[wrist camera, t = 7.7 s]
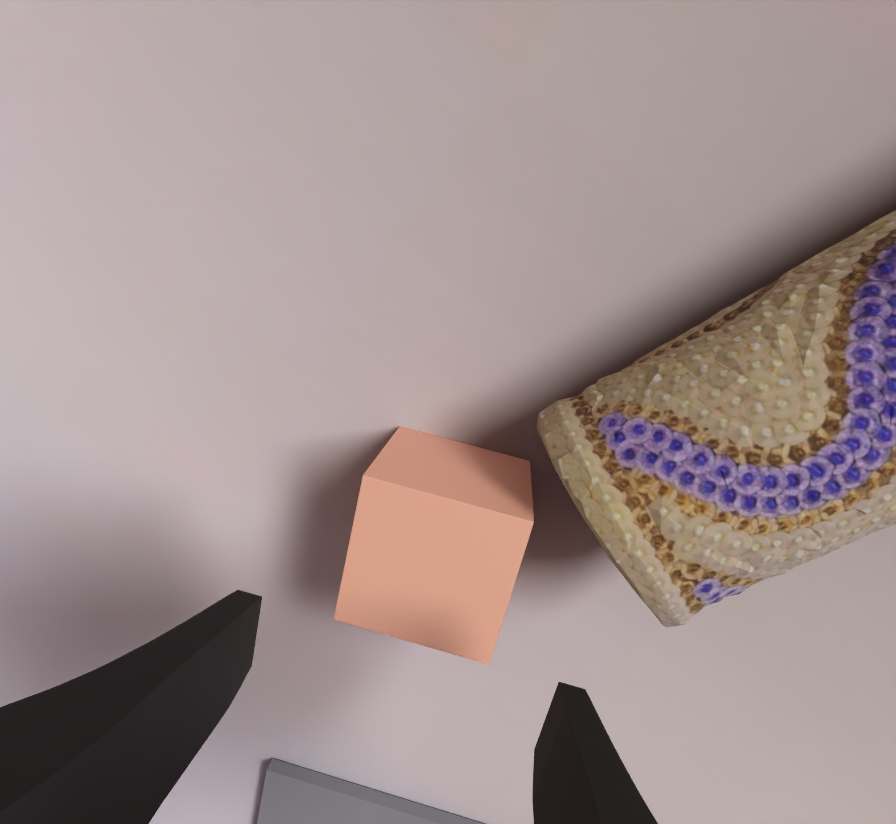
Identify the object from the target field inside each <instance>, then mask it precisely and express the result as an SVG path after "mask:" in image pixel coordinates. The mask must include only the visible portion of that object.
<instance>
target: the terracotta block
mask: <svg viewBox="0 0 896 824" xmlns="http://www.w3.org/2000/svg"><path fill="white" fill-rule="evenodd" d="M533 524H534V513H533V498H532V482H531V467H530V461H529V460H525V459H521V458H518V457H514V456H510V455H506V454H503V453H499V452H495V451H491V450H488V449H484V448H480V447H476V446H472V445H469V444H465V443H461V442H457V441H454V440H450V439H446V438H442V437H439V436H435V435H431V434H427V433H424V432H420V431H416V430H412V429H409V428H405V427H401V426H400V427H399V428H398V429H397V431H396V432H395V433H394V434H393V436H392V437H391V438H390V440H389V441H388V442H387V444H386V445H385V446H384V448H383V449H382V450H381V452H380V453H379V454H378V456H377V457H376V458H375V460H374V461H373V462H372V464H371V465H370V466H369V468H368V469H367V470H366V472H365V473H364V474H363V477H362V482H361V487H360V492H359V497H358V502H357V507H356V512H355V517H354V522H353V526H352V531H351V536H350V541H349V546H348V551H347V556H346V561H345V566H344V571H343V576H342V581H341V585H340V590H339V595H338V600H337V605H336V610H335V615H334V620H337V621H341V622H344V623H348V624H351V625H354V626H358V627H361V628H365V629H368V630H372V631H375V632H379V633H382V634H385V635H389V636H392V637H396V638H399V639H403V640H406V641H410V642H413V643H416V644H420V645H423V646H427V647H430V648H434V649H437V650H441V651H444V652H447V653H451V654H454V655H458V656H461V657H465V658H468V659H472V660H475V661H478V662H482V663H485V664H490V661H491V658H492V655H493V651H494V648H495V645H496V642H497V639H498V635H499V632H500V629H501V626H502V623H503V619H504V616H505V613H506V610H507V607H508V603H509V600H510V597H511V594H512V591H513V587H514V584H515V581H516V578H517V575H518V571H519V568H520V565H521V562H522V559H523V556H524V552H525V549H526V546H527V543H528V540H529V536H530V533H531V530H532V527H533Z"/></svg>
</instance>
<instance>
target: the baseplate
mask: <svg viewBox="0 0 896 824" xmlns="http://www.w3.org/2000/svg"><path fill="white" fill-rule="evenodd" d="M257 824H483V823H480V822H477V821H474V820H470V819H467V818H464V817H461V816H457V815H454V814H451V813H448V812H444V811H441V810H438V809H435V808H432V807H428V806H425V805H422V804H419V803H415V802H412V801H409V800H406V799H402V798H399V797H396V796H393V795H389V794H386V793H383V792H380V791H377V790H373V789H370V788H367V787H364V786H360V785H357V784H354V783H351V782H347V781H344V780H341V779H338V778H334V777H331V776H328V775H325V774H322V773H318V772H315V771H312V770H309V769H305V768H302V767H299V766H296V765H292V764H289V763H286V762H283V761H279V760H276V759H273V758H272V760H271V762H270V764H269V766H268V768H267V770H266V775H265V781H264V787H263V792H262V798H261V803H260V809H259V815H258V820H257Z"/></svg>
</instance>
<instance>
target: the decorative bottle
mask: <svg viewBox="0 0 896 824" xmlns="http://www.w3.org/2000/svg"><path fill="white" fill-rule="evenodd" d="M537 430H538V432H539V434H540V437H541V439H542V441H543V444H544V446H545V449H546V451H547V453H548V455H549V457H550V459H551V461H552V464H553V466H554V468H555V470H556V472H557V474H558V476H559V477H560V479H561V481H562V483H563V485H564V486H565V488H566V490H567V492H568V493H569V495H570V497H571V499H572V500H573V502H574V504H575V506H576V507H577V509H578V511H579V512H580V514H581V516H582V517H583V519H584V520H585V522H586V523H587V525H588V526H589V528H590V529H591V531H592V532H593V534H594V535H595V537H596V538H597V540H598V541H599V543H600V544H601V546H602V547H603V549H604V550H605V552H606V553H607V555H608V556H609V558H610V559H611V561H612V562H613V563H614V564H615V566H616V567H617V568H618V570H619V571H620V572H621V574H622V575H623V576H624V577H625V579H626V580H627V581H628V583H629V584H630V585H631V587H632V588H633V589H634V590H635V592H636V593H637V594H638V596H639V597H640V598H641V599H642V600H643V602H644V603H645V604H646V605H647V606H648V607H649V609H650V610H651V611H652V612H653V613H654V615H655V616H656V617H657V618H658V619H659V621H660V622H661V624H662V625H663V626H665V627H672V626H678V625H684V624H685V623H686V622H687V621H689V620H690V619H691V618H692V617H693V616H694V615H695V614H696V613H697V612H699V611H700V610H701V609H702V608H703V607H704V606H707V605H710V604H712V603H715V602H718V601H721V600H722V599H723V597H727V596H731V595H736V594H740V593H741V592H743V591H744V590H745V589H747V588H748V587H750V586H751V585H753V584H755V583H757V582H760V581H762V580H764V579H766V578H769V577H773V576H776V575H780V574H784V573H786V572H788V571H790V570H791V569H793V568H795V567H797V566H799V565H801V564H803V563H805V562H808V561H811V560H814V559H816V558H819V557H821V556H823V555H825V554H827V553H829V552H832V551H834V550H836V549H838V548H840V547H842V546H844V545H847V544H849V543H851V542H853V541H855V540H858V539H860V538H862V537H864V536H866V535H868V534H870V533H872V532H875V531H878V530H881V529H883V528H886V527H889V526H891V525H893V524H895V523H896V210H895V211H893V212H891V213H889V214H887V215H886V216H884V217H882V218H880V219H878V220H876V221H875V222H873V223H872V224H870V225H868V226H867V227H865V228H863V229H862V230H860V231H858V232H857V233H855V234H853V235H851V236H850V237H848V238H846V239H844V240H843V241H841V242H839V243H837V244H835V245H833V246H831V247H829V248H827V249H825V250H824V251H822V252H820V253H818V254H817V255H815V256H813V257H812V258H810V259H808V260H807V261H805V262H803V263H802V264H800V265H798V266H797V267H795V268H793V269H791V270H789V271H788V272H786V273H785V274H783V275H782V276H781V277H779V278H778V279H777V280H776V281H774V282H773V283H770V284H768V285H766V286H765V287H763V288H761V289H759V290H757V291H756V292H754V293H752V294H750V295H748V296H747V297H745V298H743V299H741V300H740V301H738V302H737V303H735V304H733V305H732V306H728V307H726V308H725V309H723V310H721V311H719V312H718V313H716V314H715V315H713V316H712V317H710V318H709V319H708V320H706V321H704V322H703V323H701V324H699V325H697V326H695V327H693V328H691V329H690V330H688V331H686V332H685V333H683V334H682V335H680V336H678V337H676V338H675V339H673V340H671V341H669V342H667V343H665V344H664V345H662V346H660V347H658V348H656V349H655V350H653V351H651V352H650V353H648V354H646V355H644V356H643V357H641V358H639V359H638V360H636V361H635V362H634V363H633V364H631V365H630V366H628V367H626V368H624V369H623V370H621V371H619V372H616V373H614V374H611V375H608V376H605V377H603V378H600V379H599V380H598V381H597V383H595V384H593V385H591V386H588V387H587V388H586V389H585V390H584V391H583V392H582V393H581V394H580V395H576V396H573V397H569V398H565V399H561V400H558V401H556V402H554V403H553V404H551V405H550V406H548V407H547V408H545V409H544V410H542V411H541V412H540V413H539V416H538V421H537Z"/></svg>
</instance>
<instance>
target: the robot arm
mask: <svg viewBox="0 0 896 824" xmlns="http://www.w3.org/2000/svg"><path fill="white" fill-rule="evenodd" d="M261 601H262V597H261V596H258V595H254V594H251V593H247V592H244V591H240V590H237V591H235V592H233V593H231V594H230V595H228V596H226V597H225V598H223V599H221V600H220V601H218V602H216V603H215V604H213V605H212V606H210V607H208V608H207V609H205V610H203V611H202V612H200V613H198V614H197V615H195V616H193V617H192V618H190V619H188V620H187V621H185V622H183V623H182V624H180V625H178V626H176V627H175V628H173V629H171V630H170V631H168V632H166V633H164V634H163V635H161V636H159V637H157V638H156V639H154V640H152V641H150V642H148V643H146V644H145V645H143V646H141V647H139V648H137V649H135V650H133V651H131V652H129V653H127V654H125V655H124V656H122V657H120V658H118V659H116V660H114V661H112V662H110V663H108V664H106V665H104V666H102V667H100V668H97V669H95V670H93V671H91V672H89V673H87V674H84V675H82V676H80V677H77V678H75V679H73V680H70V681H68V682H66V683H63V684H61V685H59V686H56V687H54V688H51V689H49V690H46V691H43V692H41V693H38V694H35V695H32V696H30V697H27V698H24V699H22V700H19V701H16V702H14V703H11V704H8V705H6V706H3V707H0V824H149V822H150V821H151V819H152V817H153V816H154V814H155V813H156V811H157V810H158V808H159V807H160V805H161V804H162V802H163V801H164V799H165V798H166V797H167V795H168V794H169V792H170V791H171V789H172V788H173V787H174V785H175V784H176V782H177V781H178V779H179V778H180V777H181V775H182V774H183V772H184V771H185V770H186V768H187V767H188V765H189V764H190V762H191V761H192V760H193V758H194V757H195V755H196V754H197V752H198V751H199V750H200V748H201V747H202V745H203V744H204V743H205V741H206V740H207V738H208V737H209V735H210V734H211V733H212V731H213V730H214V728H215V727H216V725H217V724H218V722H219V721H220V720H221V718H222V717H223V715H224V714H225V712H226V711H227V709H228V708H229V706H230V704H231V703H232V701H233V699H234V697H235V695H236V694H237V692H238V690H239V688H240V687H241V685H242V683H243V681H244V679H245V677H246V675H247V673H248V672H249V670H250V668H251V666H252V660H253V653H254V647H255V640H256V633H257V627H258V620H259V614H260V607H261ZM533 814H534V824H658V823H657V822H656V820H655V818H654V817H653V815H652V813H651V812H650V810H649V808H648V807H647V805H646V803H645V802H644V800H643V798H642V797H641V795H640V793H639V791H638V790H637V788H636V786H635V784H634V782H633V781H632V779H631V777H630V775H629V773H628V772H627V770H626V768H625V766H624V764H623V762H622V761H621V759H620V757H619V755H618V753H617V751H616V749H615V747H614V745H613V744H612V742H611V740H610V738H609V736H608V734H607V732H606V730H605V728H604V726H603V724H602V722H601V720H600V718H599V716H598V714H597V712H596V710H595V708H594V706H593V704H592V702H591V700H590V698H589V696H588V694H587V692H586V690H585V689H582V688H579V687H575V686H572V685H568V684H565V683H561V682H559V683H558V686H557V688H556V691H555V694H554V697H553V700H552V702H551V705H550V708H549V711H548V713H547V716H546V719H545V722H544V724H543V727H542V730H541V733H540V736H539V738H538V741H537V744H536V747H535V750H534V771H533Z"/></svg>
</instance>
